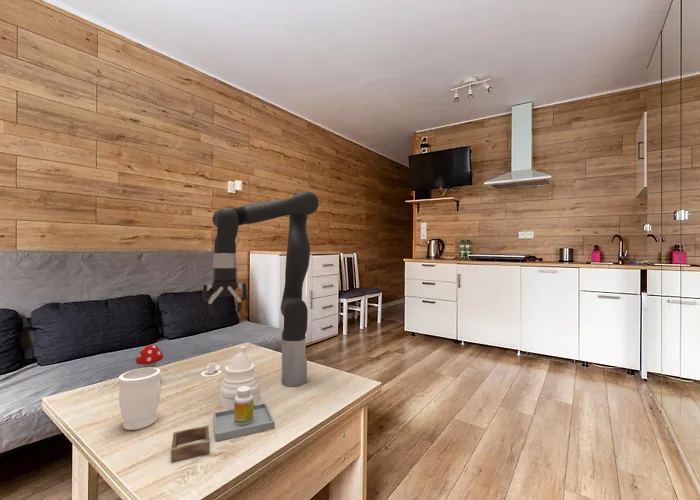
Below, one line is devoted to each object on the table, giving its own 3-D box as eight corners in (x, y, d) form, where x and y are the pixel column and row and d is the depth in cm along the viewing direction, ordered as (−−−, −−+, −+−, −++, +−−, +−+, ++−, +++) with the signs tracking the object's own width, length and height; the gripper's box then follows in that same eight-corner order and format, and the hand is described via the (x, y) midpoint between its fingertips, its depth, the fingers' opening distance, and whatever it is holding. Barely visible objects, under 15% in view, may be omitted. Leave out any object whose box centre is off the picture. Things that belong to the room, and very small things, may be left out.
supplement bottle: (247, 426, 96) (247, 393, 96) (230, 424, 97) (230, 391, 97) (256, 417, 101) (256, 385, 101) (240, 415, 102) (240, 384, 102)
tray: (266, 408, 108) (266, 402, 108) (274, 428, 96) (274, 421, 96) (213, 419, 101) (213, 412, 101) (215, 441, 90) (215, 434, 90)
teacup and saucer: (216, 368, 145) (216, 359, 145) (226, 372, 140) (226, 363, 140) (197, 374, 138) (197, 364, 138) (207, 379, 133) (207, 369, 133)
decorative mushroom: (152, 390, 121) (152, 349, 121) (129, 389, 122) (129, 349, 122) (168, 379, 131) (168, 342, 131) (147, 379, 132) (147, 341, 132)
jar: (129, 436, 92) (129, 383, 92) (112, 425, 97) (112, 375, 97) (167, 420, 101) (167, 371, 101) (149, 411, 106) (149, 364, 106)
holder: (208, 435, 92) (208, 425, 92) (209, 453, 85) (209, 441, 85) (173, 443, 89) (173, 432, 89) (171, 462, 81) (171, 450, 81)
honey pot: (229, 392, 120) (229, 343, 120) (264, 392, 120) (264, 343, 120) (213, 409, 108) (213, 354, 108) (252, 410, 107) (252, 355, 107)
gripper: (245, 265, 120) (244, 310, 120) (202, 266, 114) (201, 313, 114) (248, 266, 113) (247, 314, 113) (202, 267, 107) (202, 317, 107)
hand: (224, 313), depth 113 cm, fingers open, 8 cm apart
